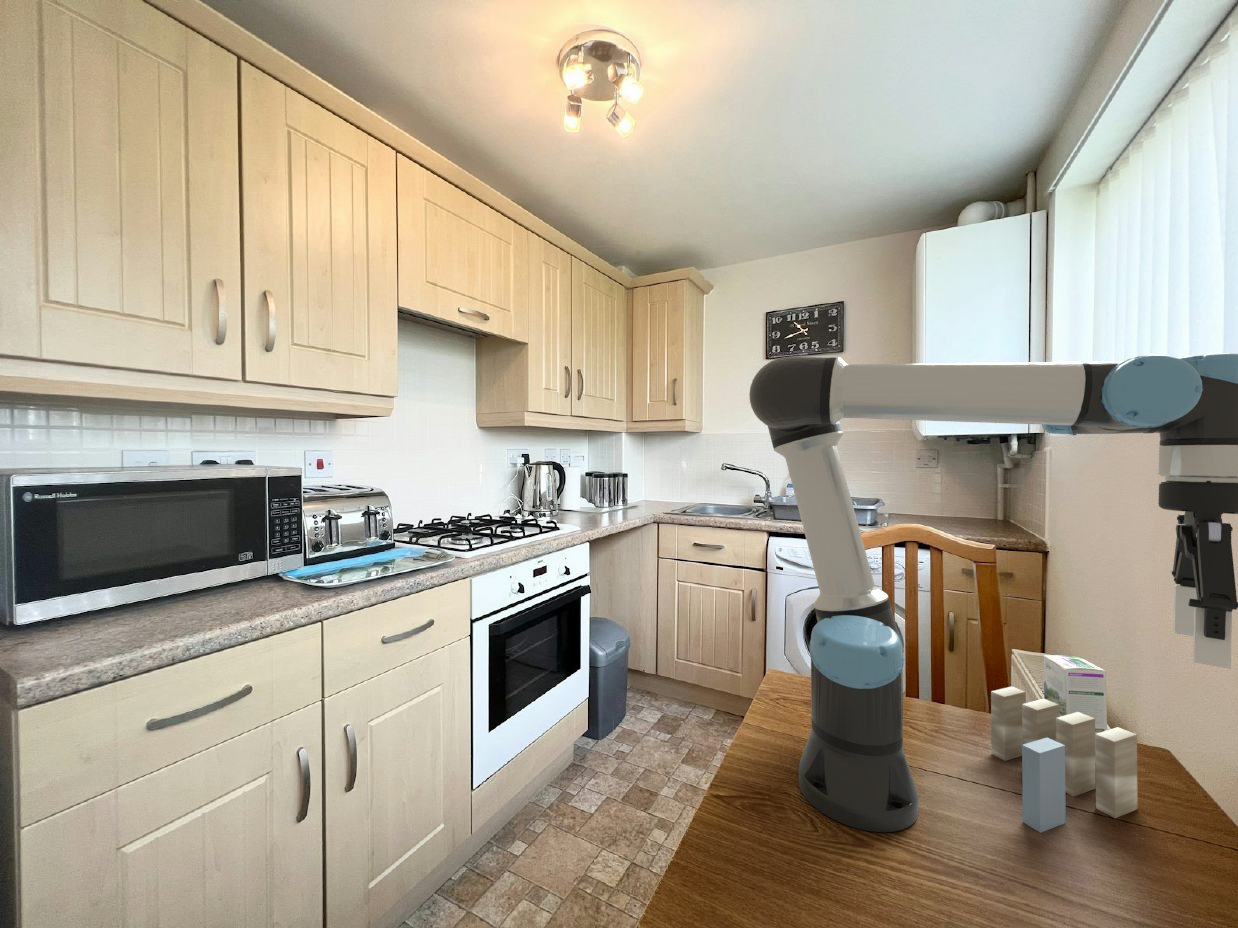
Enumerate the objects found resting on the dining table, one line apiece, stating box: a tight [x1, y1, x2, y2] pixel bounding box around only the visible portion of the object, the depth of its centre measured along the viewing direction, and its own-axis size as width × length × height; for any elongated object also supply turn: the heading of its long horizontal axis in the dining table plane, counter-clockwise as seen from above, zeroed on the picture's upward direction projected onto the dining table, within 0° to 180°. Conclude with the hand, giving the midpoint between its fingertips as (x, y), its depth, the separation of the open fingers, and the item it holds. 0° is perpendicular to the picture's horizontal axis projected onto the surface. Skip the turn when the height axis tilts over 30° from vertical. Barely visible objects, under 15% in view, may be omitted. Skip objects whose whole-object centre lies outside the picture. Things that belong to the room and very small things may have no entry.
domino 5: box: [1095, 726, 1138, 819], centre depth 67 cm, size 2×5×10 cm, turn 110°
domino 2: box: [1022, 698, 1059, 744], centre depth 75 cm, size 2×5×10 cm, turn 110°
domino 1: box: [990, 686, 1027, 761], centre depth 79 cm, size 2×5×10 cm, turn 110°
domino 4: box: [1056, 712, 1096, 798], centre depth 71 cm, size 2×5×10 cm, turn 110°
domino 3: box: [1021, 738, 1067, 834], centre depth 64 cm, size 2×5×10 cm, turn 110°
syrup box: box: [1043, 654, 1108, 763], centre depth 80 cm, size 6×6×14 cm
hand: (1199, 648), depth 62 cm, fingers open, 13 cm apart
